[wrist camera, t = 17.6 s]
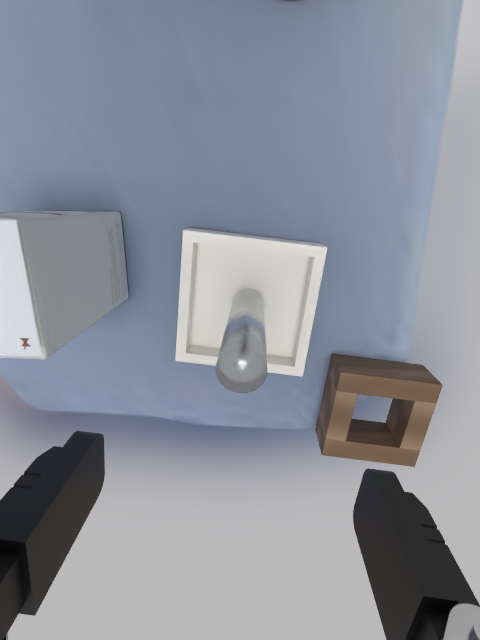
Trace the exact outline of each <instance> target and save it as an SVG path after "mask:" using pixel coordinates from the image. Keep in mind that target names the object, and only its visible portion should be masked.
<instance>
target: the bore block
mask: <svg viewBox="0 0 480 640" xmlns="http://www.w3.org/2000/svg"><path fill="white" fill-rule="evenodd" d="M441 388H442V384H441V383H440V382H439V381H438V380H437V379H436V378H435V377H434V376H433V375H432V374H431V373H430V372H429V371H428V370H427V369H426V368H425V367H424V366H423V365H418V364H410V363H402V362H394V361H386V360H378V359H370V358H362V357H353V356H345V355H337V354H332V357H331V362H330V366H329V371H328V375H327V380H326V384H325V389H324V394H323V398H322V403H321V407H320V412H319V416H318V421H317V425H316V433H317V438H318V441H319V446H320V449H321V454H322V455H326V456H334V457H342V458H349V459H357V460H366V461H373V462H381V463H389V464H397V465H405V466H412V467H415V464H416V461H417V458H418V455H419V452H420V449H421V446H422V444H423V441H424V437H425V435H426V432H427V429H428V426H429V423H430V420H431V417H432V414H433V412H434V408H435V406H436V403H437V400H438V397H439V394H440V391H441ZM358 394H363V395H371V396H380V397H387V398H393V400H392V404H391V407H390V410H389V414H388V417H387V421H386V423H381V422H373V421H364V420H357V419H351V418H352V415H353V411H354V407H355V403H356V399H357V395H358Z"/></svg>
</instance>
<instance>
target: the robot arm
mask: <svg viewBox="0 0 480 640" xmlns="http://www.w3.org/2000/svg"><path fill="white" fill-rule="evenodd" d="M104 470H105V469H104V437H103V435H102V434H99V433H90V432H83V431H76V432H75V433H74V434H73V435H72V436H71V437H70V439H69V440H68V441H67V443H66V444H65V445H64V446H63V447H56V446H54V447H52V448H51V449H49V450H48V451H46V452H45V453H43V454H42V455H40V456H39V457H37V458H36V459H35V460H34V461H33V463H32V464H31V465H30V466H29V468H28V469H27V470H26V471H25V473H24V475H22V476H21V477H20V478H19V479H18V480H17V482H16V483H15V484H14V487H13V488H11V489H10V490H9V491H8V492H7V493H6V494H5V496H4V497H3V498H2V499H1V500H0V640H8V634H7V633H8V631H9V629H10V627H11V626H12V624H13V622H14V620H15V618H16V617H17V615H18V613H20V614H28V615H35V614H36V612H37V611H38V608H39V607H40V605H41V603H42V601H43V599H44V597H45V596H46V594H47V592H48V590H49V587H50V586H51V584H52V582H53V580H54V579H55V577H56V575H57V573H58V571H59V569H60V567H61V566H62V564H63V562H64V560H65V558H66V556H67V554H68V553H69V550H70V549H71V547H72V545H73V543H74V541H75V539H76V538H77V536H78V534H79V532H80V530H81V528H82V526H83V524H84V523H85V521H86V519H87V517H88V515H89V513H90V511H91V509H92V508H93V506H94V504H95V502H96V500H97V498H98V496H99V494H100V492H101V489H102V486H103V482H104V475H105V471H104ZM353 521H354V529H355V532H356V536H357V539H358V543H359V546H360V549H361V553H362V556H363V560H364V564H365V567H366V570H367V574H368V577H369V581H370V584H371V588H372V591H373V594H374V598H375V601H376V605H377V608H378V612H379V615H380V619H381V622H382V625H383V629H384V632H385V636H386V639H387V640H480V605H479V603H478V601H477V599H476V598H475V596H474V594H473V592H472V590H471V588H470V587H469V585H468V583H467V581H466V579H465V577H464V575H463V574H462V572H461V570H460V568H459V566H458V564H457V563H456V561H455V559H454V557H453V555H452V553H451V551H450V550H449V548H448V546H447V545H445V540H444V539H443V537H442V535H441V533H440V531H439V530H437V526H436V524H435V522H434V520H433V518H432V517H431V515H430V513H429V511H428V509H427V508H426V507H425V506H424V505H423V504H422V503H421V502H420V501H419V500H418V499H417V497H416V496H415V495H414V494H413V493H409V492H404V490H403V488H402V486H401V484H400V482H399V480H398V478H397V476H396V475H395V473H394V472H391V471H383V470H375V469H366V470H365V472H364V474H363V478H362V481H361V485H360V488H359V492H358V495H357V498H356V502H355V505H354V511H353Z"/></svg>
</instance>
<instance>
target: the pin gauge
mask: <svg viewBox="0 0 480 640" xmlns="http://www.w3.org/2000/svg"><path fill="white" fill-rule="evenodd" d="M216 375H217V378H218V380H219V381H220V383H221V384H222V385H223V386H224V387H225V388H227V389H228V390H230V391H233V392H237V393H248V392H251V391H254V390H256V389H257V388H259V387H260V386H261V385H262V384H263V383H264V381H265V379H266V377H267V352H266V334H265V316H264V301H263V297H262V296H261V294H260V293H259V292H258V291H256V290H254V289H251V288H245V289H242V290H240V291H238V292H237V293H236V294H235V296H234V297H233V301H232V305H231V308H230V312H229V316H228V320H227V324H226V328H225V332H224V336H223V340H222V344H221V348H220V351H219V355H218V359H217V363H216Z"/></svg>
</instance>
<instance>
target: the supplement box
mask: <svg viewBox="0 0 480 640" xmlns="http://www.w3.org/2000/svg"><path fill="white" fill-rule="evenodd" d="M128 298H129V295H128V283H127V273H126V262H125V251H124V240H123V231H122V221H121V214H120V212H85V211H15V212H0V358H27V359H46V358H48V357H49V356H51V355H52V354H53V353H55V352H56V351H57V350H59V349H60V348H62V347H63V346H64V345H66V344H67V343H68V342H70V341H71V340H72V339H74V338H75V337H77V336H78V335H79V334H81V333H82V332H83V331H85V330H86V329H87V328H89V327H90V326H91V325H93V324H94V323H96V322H97V321H98V320H100V319H101V318H102V317H104V316H105V315H106V314H108V313H109V312H110V311H112V310H113V309H115V308H116V307H117V306H119V305H120V304H121V303H123V302H124V301H125V300H127V299H128Z"/></svg>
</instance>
